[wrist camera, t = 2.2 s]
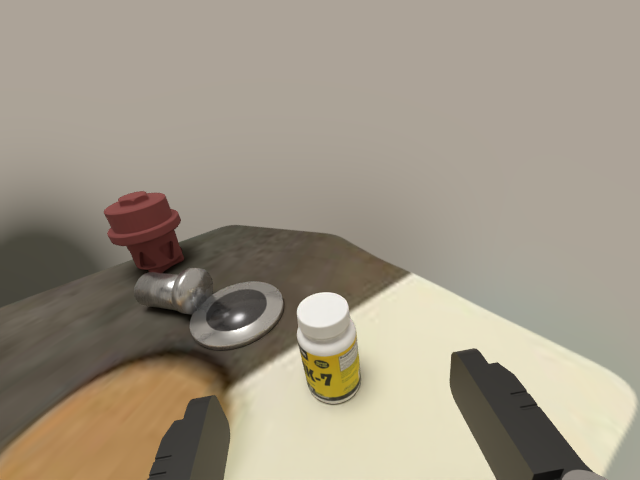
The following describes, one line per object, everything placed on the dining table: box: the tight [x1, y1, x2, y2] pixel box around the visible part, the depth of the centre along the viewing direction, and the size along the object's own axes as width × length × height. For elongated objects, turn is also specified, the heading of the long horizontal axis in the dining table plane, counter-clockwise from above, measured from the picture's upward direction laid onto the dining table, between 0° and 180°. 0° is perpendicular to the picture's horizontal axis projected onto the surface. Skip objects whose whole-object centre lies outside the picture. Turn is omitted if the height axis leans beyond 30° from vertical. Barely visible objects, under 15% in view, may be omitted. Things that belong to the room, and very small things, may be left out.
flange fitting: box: [134, 268, 284, 350], centre depth 37 cm, size 19×11×6 cm, turn 71°
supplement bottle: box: [297, 292, 361, 404], centre depth 25 cm, size 5×5×8 cm
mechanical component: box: [104, 191, 184, 273], centre depth 48 cm, size 12×10×10 cm
